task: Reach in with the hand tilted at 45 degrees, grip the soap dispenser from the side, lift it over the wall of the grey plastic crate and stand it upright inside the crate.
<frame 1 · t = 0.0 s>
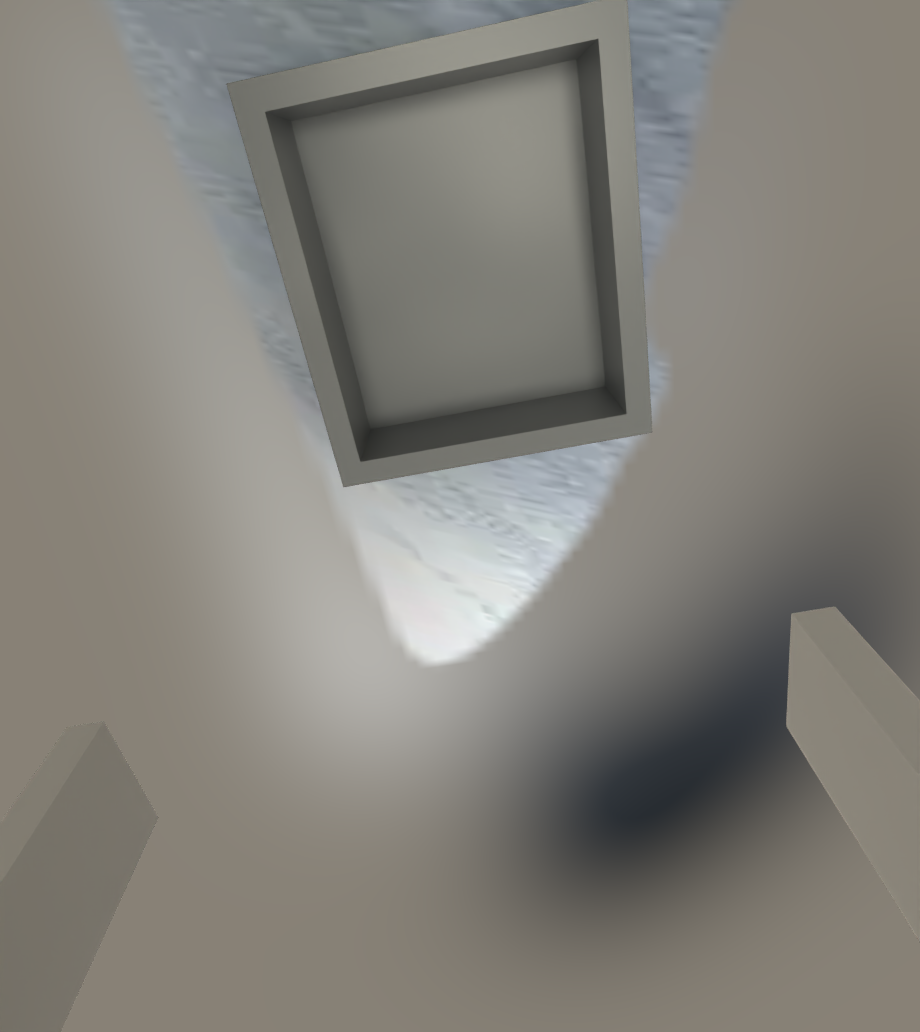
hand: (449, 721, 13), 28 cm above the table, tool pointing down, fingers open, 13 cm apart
crate: (461, 263, 35), on the table
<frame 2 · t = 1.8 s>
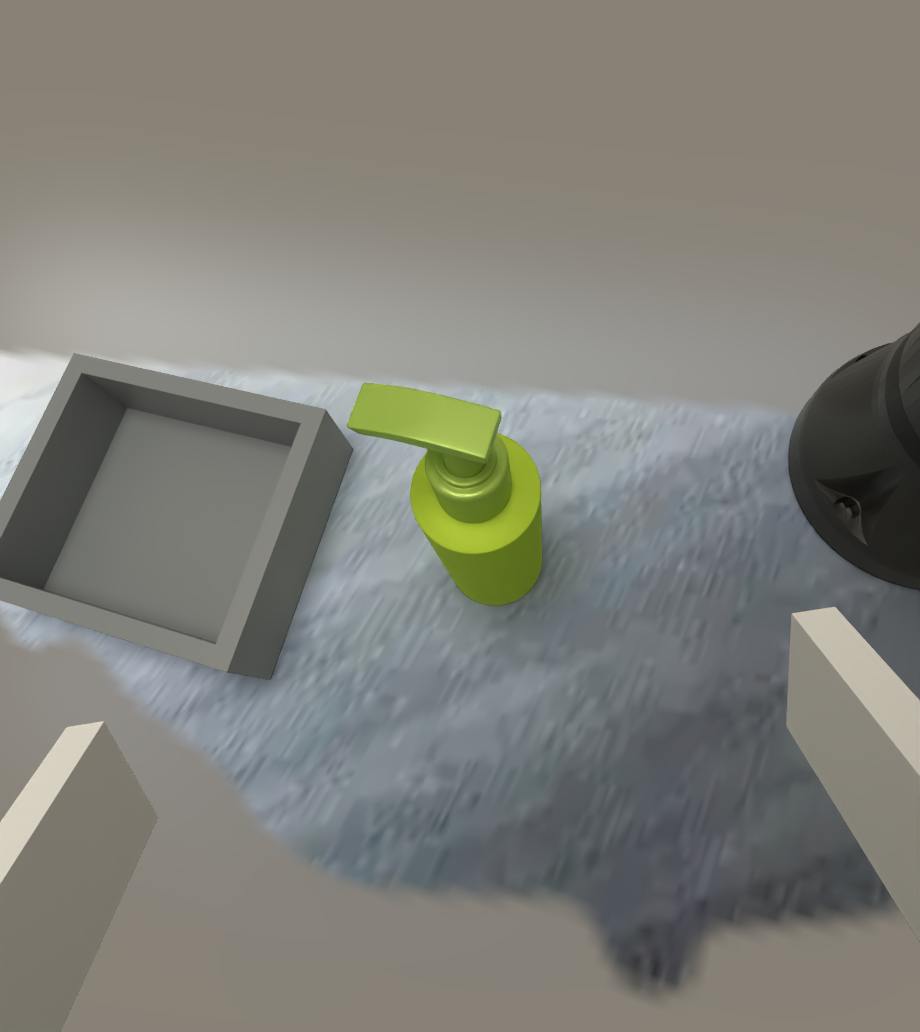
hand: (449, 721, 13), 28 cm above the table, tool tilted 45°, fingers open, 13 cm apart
soap dispenser: (487, 558, 42), on the table
crate: (193, 526, 45), on the table
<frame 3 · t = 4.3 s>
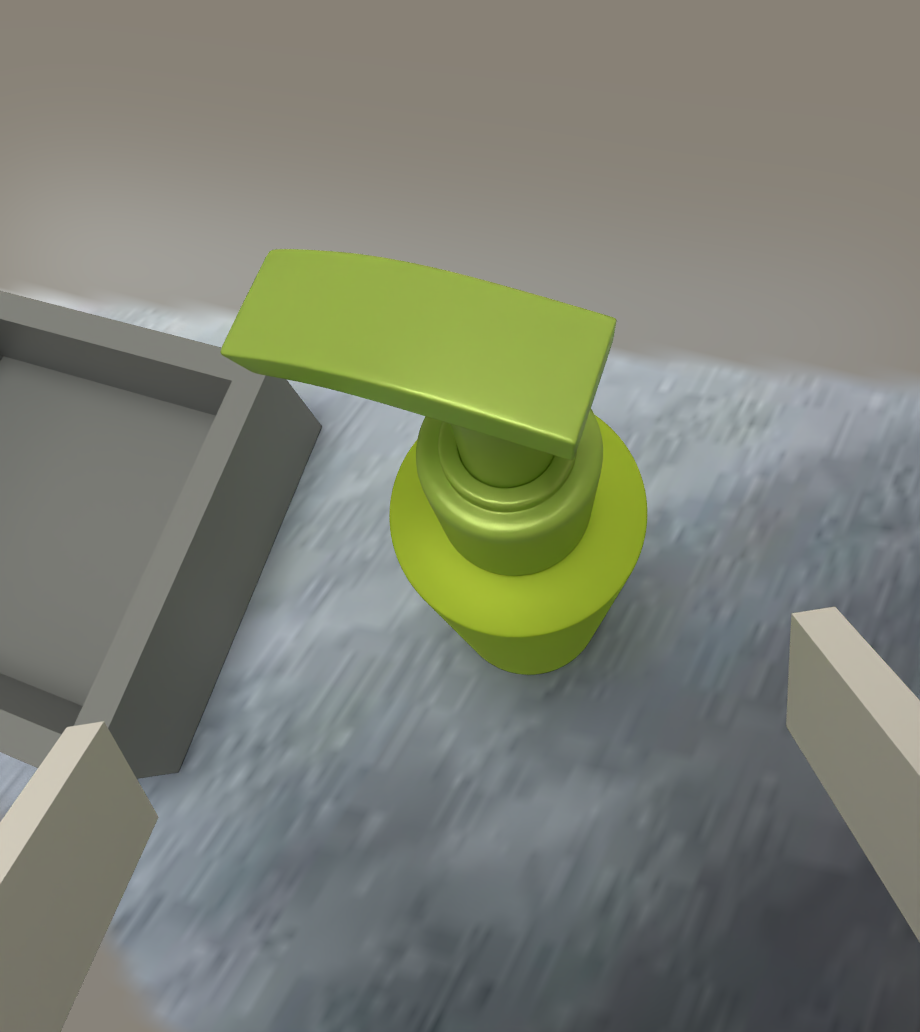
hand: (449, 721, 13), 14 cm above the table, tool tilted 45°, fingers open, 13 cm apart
soap dispenser: (515, 598, 28), on the table
crate: (84, 530, 31), on the table
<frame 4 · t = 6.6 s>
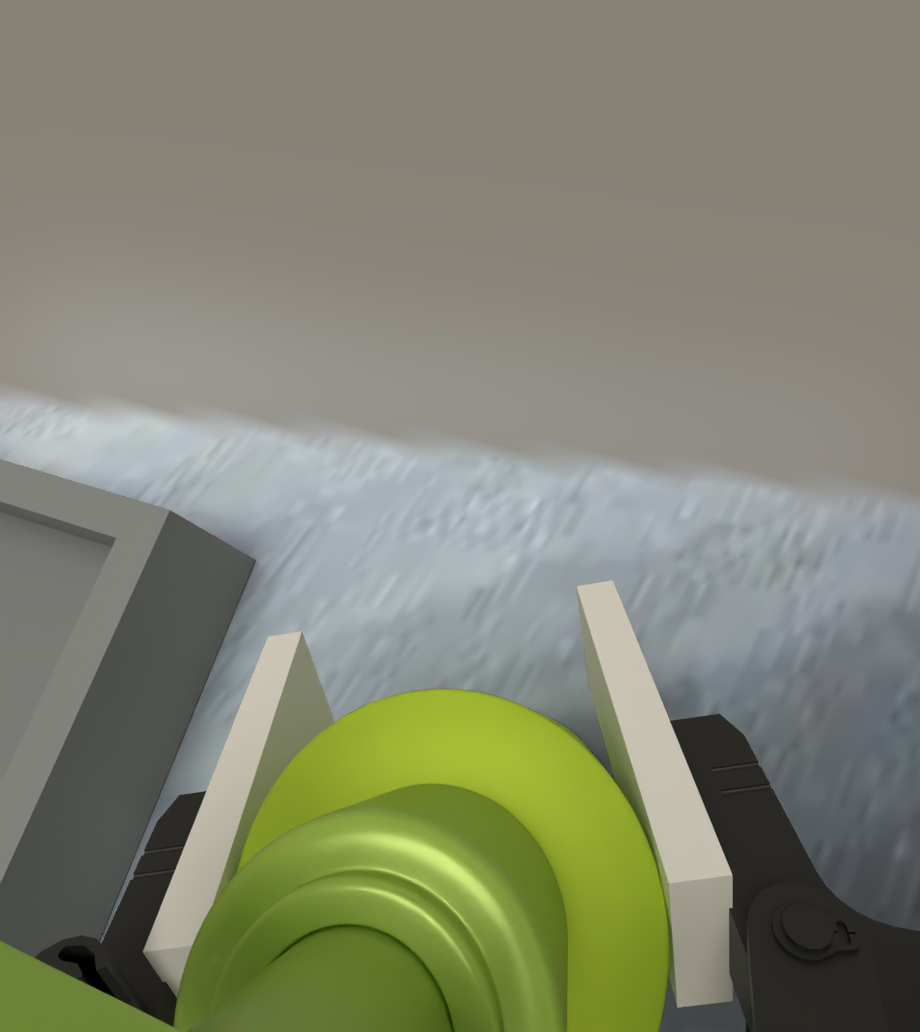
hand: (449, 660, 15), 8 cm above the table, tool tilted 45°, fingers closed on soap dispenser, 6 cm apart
soap dispenser: (500, 800, 21), on the table, touching gripper
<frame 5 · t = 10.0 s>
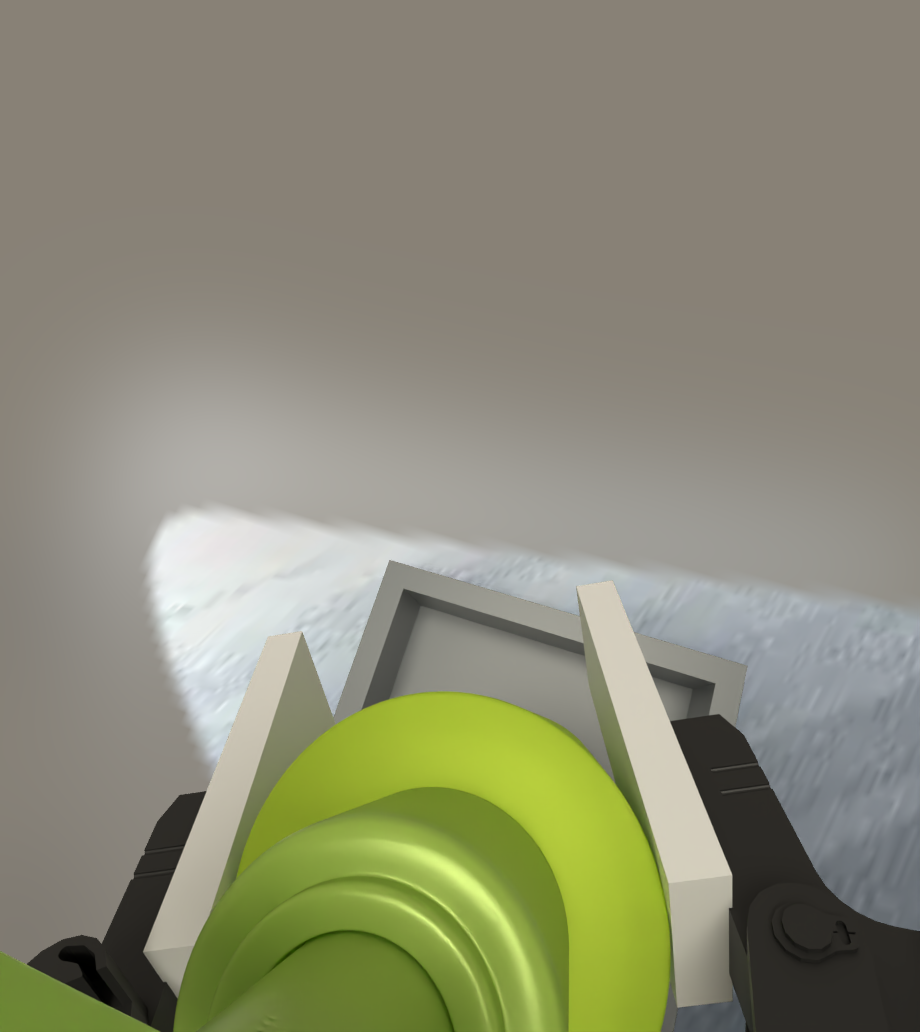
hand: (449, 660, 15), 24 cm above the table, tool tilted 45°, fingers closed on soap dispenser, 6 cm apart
soap dispenser: (500, 801, 21), point 16 cm above the table, touching gripper
crate: (516, 767, 36), on the table
when the fingers open (11 cm above the table, at t = 13.5 s): soap dispenser drops 1 cm, resting on crate.
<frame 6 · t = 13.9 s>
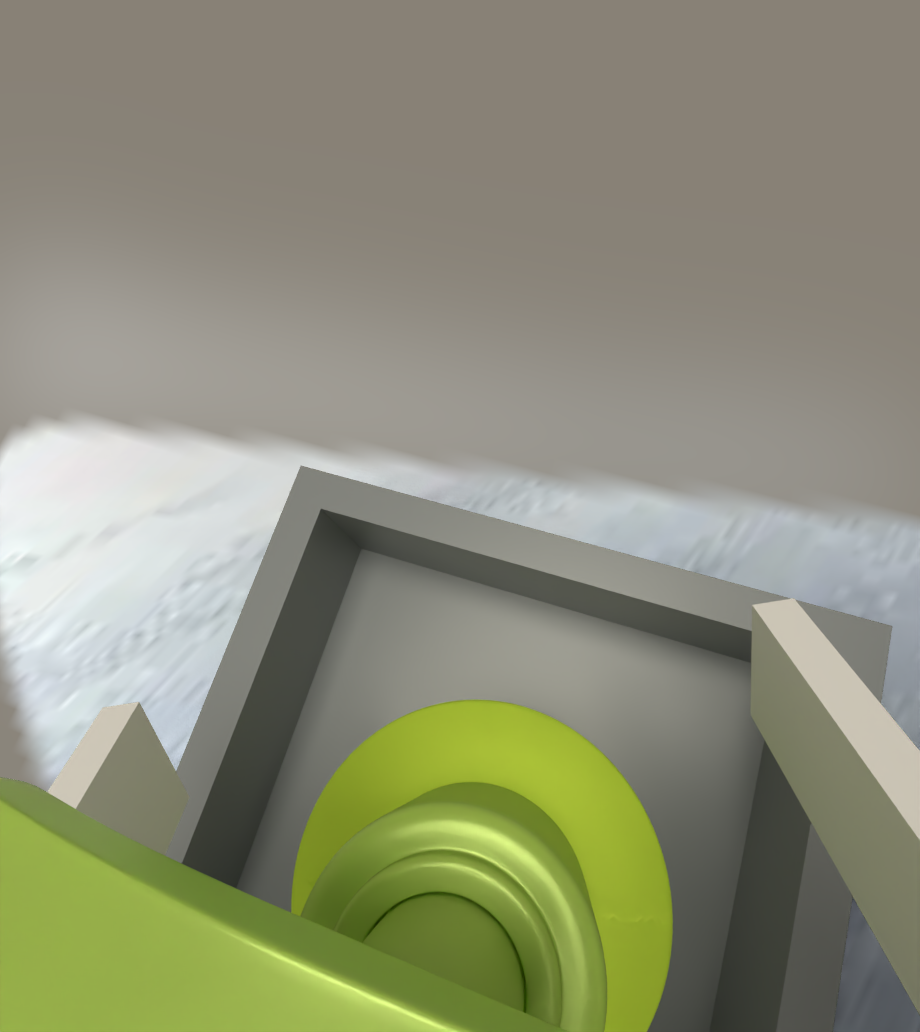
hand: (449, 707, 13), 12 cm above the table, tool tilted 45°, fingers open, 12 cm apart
soap dispenser: (498, 799, 23), point 1 cm above the table, touching crate
crate: (504, 793, 24), on the table
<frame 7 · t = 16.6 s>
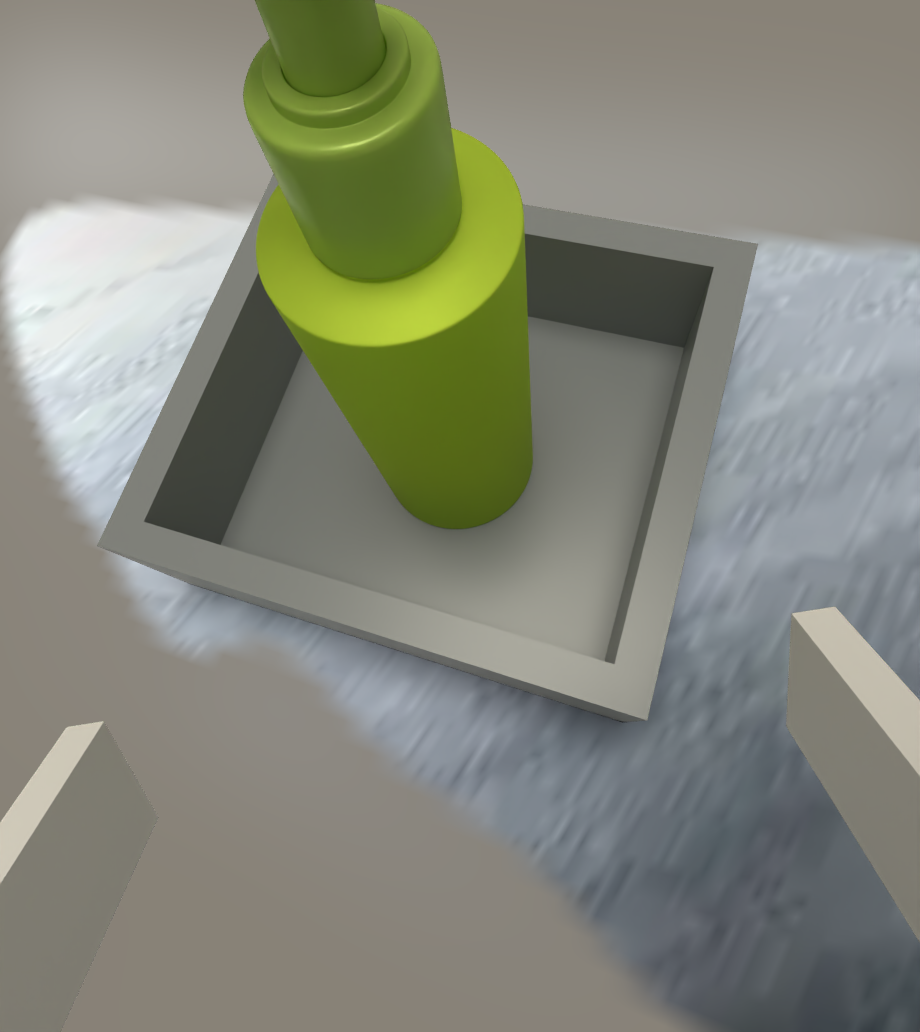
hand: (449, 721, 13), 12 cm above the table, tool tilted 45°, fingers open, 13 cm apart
soap dispenser: (447, 457, 27), point 1 cm above the table, touching crate
crate: (454, 461, 28), on the table
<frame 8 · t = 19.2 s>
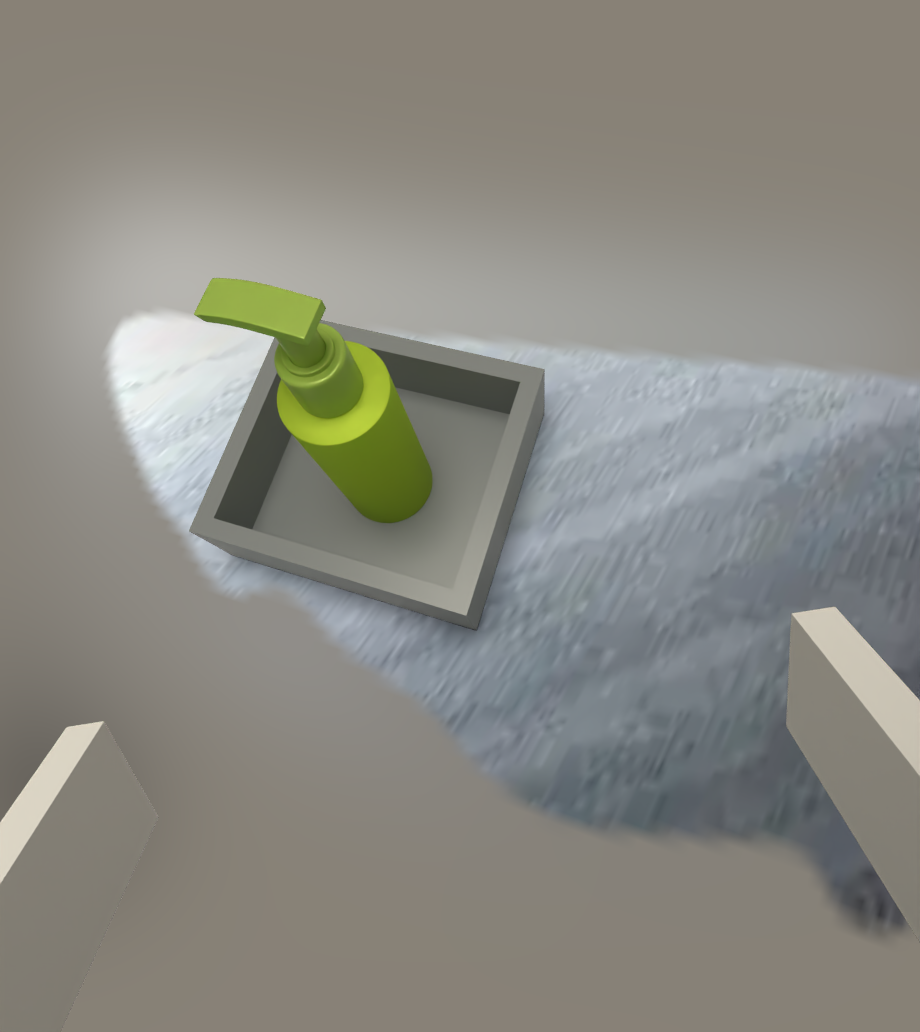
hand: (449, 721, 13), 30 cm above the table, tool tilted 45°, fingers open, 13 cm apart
soap dispenser: (384, 481, 46), point 1 cm above the table, touching crate
crate: (388, 483, 47), on the table
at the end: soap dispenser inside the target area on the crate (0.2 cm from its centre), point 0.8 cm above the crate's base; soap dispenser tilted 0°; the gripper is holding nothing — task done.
